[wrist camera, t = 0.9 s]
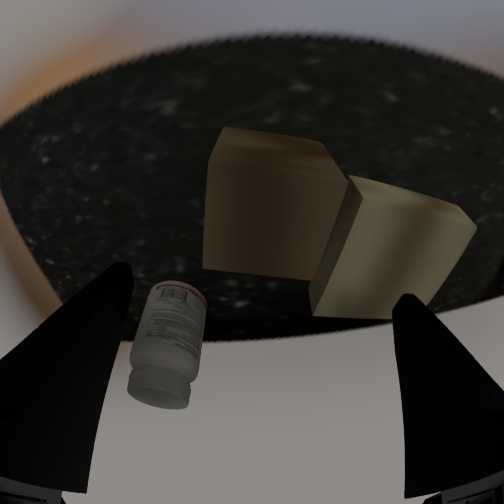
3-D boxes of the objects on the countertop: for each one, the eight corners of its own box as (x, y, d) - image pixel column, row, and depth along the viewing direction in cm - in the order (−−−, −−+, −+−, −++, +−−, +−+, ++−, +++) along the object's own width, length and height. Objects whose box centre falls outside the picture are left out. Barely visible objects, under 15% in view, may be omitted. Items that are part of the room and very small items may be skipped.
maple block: (455, 202, 15) (477, 227, 13) (404, 291, 21) (415, 319, 19) (346, 172, 15) (363, 197, 12) (307, 283, 20) (312, 316, 18)
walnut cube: (320, 141, 13) (348, 182, 9) (299, 220, 16) (312, 280, 13) (224, 126, 13) (208, 160, 9) (215, 209, 16) (202, 268, 12)
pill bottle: (182, 324, 23) (165, 414, 17) (139, 295, 21) (108, 389, 15) (221, 304, 21) (209, 407, 15) (174, 268, 19) (143, 378, 13)
